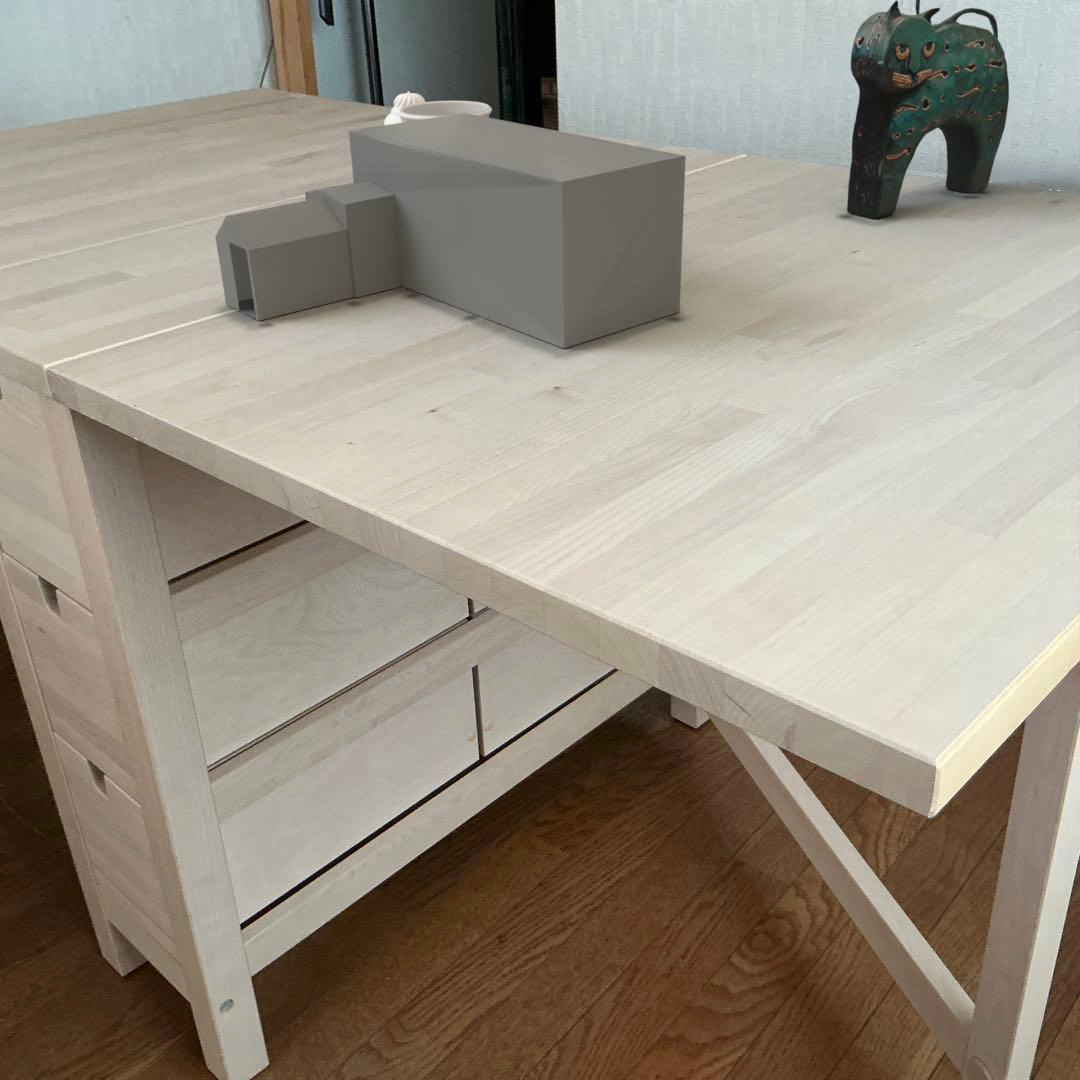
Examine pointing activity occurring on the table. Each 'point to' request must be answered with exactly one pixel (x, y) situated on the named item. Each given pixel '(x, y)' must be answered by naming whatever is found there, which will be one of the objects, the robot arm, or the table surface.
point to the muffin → (401, 102)
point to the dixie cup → (442, 110)
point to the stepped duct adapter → (476, 229)
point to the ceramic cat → (924, 102)
